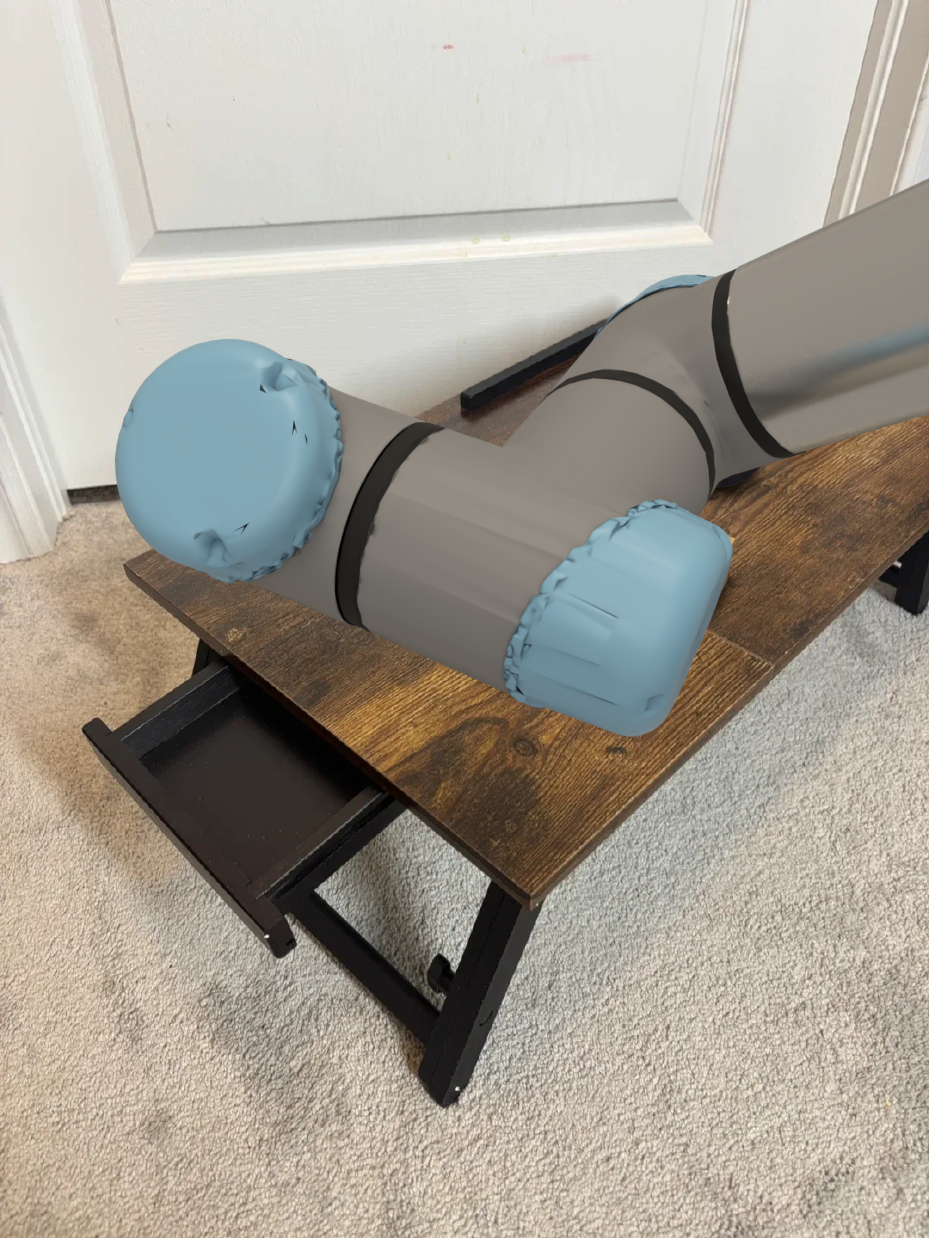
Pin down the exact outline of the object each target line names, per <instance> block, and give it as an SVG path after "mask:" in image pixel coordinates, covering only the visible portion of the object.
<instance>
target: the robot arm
mask: <svg viewBox="0 0 929 1238" xmlns="http://www.w3.org/2000/svg"><path fill="white" fill-rule="evenodd" d="M927 415H929V177H927V178H925V179H924V180H921V181H919V182H917V183H915V184H913V185H911V186H908V187H906V188H904V189H902V190H900V191H898V192H896V193H893V194H892V195H889V196H887V197H884V198H883V199H881V200H878V201H876V202H873V203H872V204H870V205H867V206H866V207H863V208H861V209H859V210H856V211H854V212H853V213H850V214H848V215H846V216H844V217H842V218H840V219H838V220H836V221H833V222H830V223H829V224H827V225H825V226H822V227H820V228H818V229H815V230H813V231H811V232H809V233H808V234H805V235H803V236H801V237H799V238H796V239H795V240H792V241H790V242H788V243H786V244H783V245H781V246H779V247H777V248H775V249H773V250H771V251H769V252H766V253H764V254H763V255H760V256H758V257H756V258H753V259H751V260H750V261H747V262H745V263H743V264H741V265H738V266H737V268H734V269H732V270H730V271H727V272H724V273H721V274H719V275H716V276H713V275H712V276H711V275H704V274H680V275H674V276H670V277H667V278H664V279H661V280H659V281H657V282H655V283H653V284H651V285H650V286H648V287H646V288H645V289H644V290H642V291H641V292H640V293H638V294H637V295H636V296H635V297H634V298H633V299H632V300H630V301H629V302H627V303H625V304H624V305H622V306H620V307H619V308H618V309H616V310H615V311H614V312H612V314H610V316H609V318H608V319H607V320H606V322H605V323H604V325H603V326H601V327H600V328H599V329H598V330H597V332H596V333H595V335H594V337H593V339H592V341H591V342H590V343H589V345H588V346H586V348H585V349H584V350H583V351H582V353H581V354H580V355H579V356H578V358H577V359H576V360H575V361H574V363H572V365H571V366H570V367H569V368H568V370H567V371H566V372H565V373H564V374H563V375H562V377H560V379H559V380H558V381H557V383H556V384H555V385H554V386H553V388H552V389H551V390H550V391H549V392H548V393H547V394H546V395H545V396H544V397H543V399H542V400H541V401H540V402H539V403H538V405H537V406H536V408H535V409H533V411H532V412H531V413H530V414H529V415H528V417H526V419H525V420H524V421H523V422H522V423H521V424H520V425H519V427H518V428H517V429H516V430H515V431H514V433H512V435H511V436H510V437H509V438H508V439H507V440H506V441H505V443H503V445H502V446H500V445H497V444H493V443H491V442H488V441H486V440H482V439H480V438H476V437H474V436H471V435H467V434H464V433H461V432H458V431H455V430H454V429H453V430H452V429H449V428H447V427H444V426H440V425H438V424H435V423H432V422H428V421H425V420H423V419H419V418H417V417H413V416H411V415H408V414H405V413H402V412H400V411H397V410H393V409H391V408H388V407H385V406H383V405H379V404H376V403H373V402H371V401H368V400H365V399H363V398H360V397H356V396H354V395H351V394H349V393H346V392H343V391H341V390H340V389H337V388H334V387H332V386H330V385H329V384H327V381H326V380H324V379H323V378H320V377H319V376H318V375H317V371H316V370H315V369H314V368H313V367H312V366H310V365H308V364H306V363H304V362H301V361H298V360H297V359H292V358H287V357H285V356H283V355H282V354H280V353H278V352H277V351H275V350H273V349H271V348H269V347H267V346H265V345H264V344H260V343H258V342H254V341H250V340H244V339H240V338H219V339H212V340H207V341H204V342H199V343H195V344H193V345H190V346H188V347H186V348H184V349H181V350H180V351H178V352H176V353H174V354H172V355H171V356H170V357H168V358H166V360H164V361H163V362H162V363H161V364H159V365H158V366H156V368H155V369H154V370H153V371H152V372H151V373H150V374H149V375H147V377H145V379H144V380H143V382H142V383H141V384H140V386H139V387H138V389H137V390H136V392H135V393H134V395H133V397H132V399H131V401H130V404H129V407H128V409H127V411H126V413H125V414H124V417H123V420H122V424H121V426H120V429H119V433H118V437H117V441H116V445H115V446H116V447H115V455H114V456H115V457H114V469H115V470H114V471H115V472H114V473H115V479H116V480H115V481H116V487H117V490H118V495H119V498H120V501H121V504H122V506H123V509H124V513H125V514H126V516H127V518H128V520H129V521H130V523H131V524H132V525H133V528H135V531H136V532H137V533H138V534H139V536H140V537H141V538H142V539H143V541H144V542H145V543H146V544H148V546H149V547H150V548H152V549H153V550H155V552H157V553H158V554H160V555H161V556H163V557H165V558H166V559H168V560H170V561H172V562H175V563H176V564H178V565H181V566H185V567H187V568H190V569H193V570H195V571H196V572H198V573H199V574H207V575H208V576H209V577H211V578H212V579H214V580H216V581H218V582H223V583H226V584H234V583H235V582H237V581H240V582H243V583H246V584H250V585H252V586H256V587H258V588H261V589H263V590H266V591H269V592H271V593H274V594H276V595H278V596H280V597H283V598H284V599H287V600H290V601H292V602H294V603H297V604H299V605H301V606H303V607H306V608H308V609H311V610H313V611H315V612H317V613H320V614H322V615H324V616H327V617H328V618H331V619H334V620H336V621H338V622H340V623H343V624H344V625H346V626H350V627H357V628H361V629H362V630H365V631H367V632H368V633H371V634H373V635H375V636H376V637H379V638H382V639H384V640H386V641H389V642H391V643H394V644H395V645H398V646H399V647H402V648H404V649H407V650H408V651H411V652H413V653H415V654H418V655H419V656H422V657H425V658H426V659H429V660H431V661H434V662H436V663H438V664H440V665H442V666H444V667H447V668H449V669H450V670H453V671H455V672H458V673H460V674H462V675H464V676H467V677H469V678H471V679H474V680H475V681H477V682H480V683H482V684H485V685H487V686H490V687H491V688H493V689H496V690H498V691H500V692H503V693H504V694H506V695H509V696H511V697H512V698H513V699H514V700H515V702H516V703H517V702H518V703H521V704H523V705H526V706H528V707H531V708H534V709H545V708H546V709H547V710H550V711H554V712H556V713H558V714H562V715H564V716H567V717H569V718H572V719H574V720H577V721H580V722H583V723H586V724H588V725H591V726H593V727H595V728H596V727H597V728H599V729H602V730H605V731H607V732H610V733H613V734H616V735H619V736H622V737H639V736H643V735H645V734H648V733H650V732H651V733H652V732H653V731H654V730H655V729H656V728H658V727H660V726H661V725H662V724H663V722H665V721H666V719H667V717H668V716H669V714H670V713H671V711H672V709H673V707H674V705H675V703H676V701H677V699H678V697H679V695H680V692H681V690H682V688H683V686H684V684H685V681H686V679H687V677H688V674H689V672H690V669H691V667H692V665H693V662H694V660H695V657H696V656H697V653H698V651H699V649H700V646H701V644H702V643H703V640H704V637H705V635H706V632H707V630H708V627H709V625H710V624H711V623H710V622H711V619H712V617H713V615H714V612H715V610H716V607H717V604H718V602H719V599H720V596H721V593H722V591H723V590H722V588H723V585H724V582H725V580H726V577H727V574H728V571H729V572H730V569H731V564H732V559H733V553H734V549H732V544H731V541H730V538H729V537H730V535H729V534H728V533H727V532H726V531H725V530H724V529H723V528H722V527H721V526H719V525H718V524H715V523H713V522H711V521H709V520H706V519H705V518H702V517H701V515H702V514H703V511H704V509H705V507H706V506H707V504H708V502H709V499H710V497H711V496H712V494H713V492H714V490H716V488H715V487H716V486H717V484H718V483H719V482H720V481H721V480H723V479H725V478H727V477H729V476H731V475H734V474H738V473H741V472H744V471H748V470H751V469H754V468H758V467H760V468H762V467H764V466H767V465H771V464H775V463H777V462H780V461H783V460H787V459H790V458H792V457H796V456H798V455H801V454H804V453H807V452H808V451H810V450H814V449H817V448H821V447H824V446H827V445H831V444H834V443H837V442H840V441H841V442H842V441H844V440H847V439H851V438H854V437H857V436H861V435H864V434H867V433H871V432H874V431H878V430H881V429H884V428H887V427H891V426H894V425H898V424H901V423H904V422H908V421H911V420H915V419H918V418H922V417H925V416H927ZM729 568H730V569H729ZM728 575H729V574H728ZM723 589H724V588H723Z"/></svg>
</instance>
